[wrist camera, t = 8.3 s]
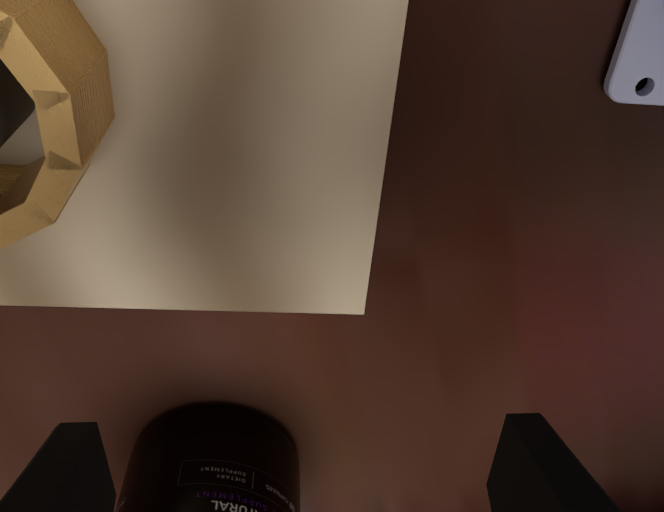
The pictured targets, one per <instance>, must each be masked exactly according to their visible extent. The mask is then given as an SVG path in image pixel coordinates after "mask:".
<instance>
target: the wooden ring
mask: <svg viewBox="0 0 664 512" xmlns="http://www.w3.org/2000/svg"><path fill="white" fill-rule="evenodd" d="M107 53H108V52H107V49H106V48H105V47H104V46H103V44H102V43H101V41H100V40H99V38H98V37H97V35H96V34H95V32H94V31H93V30H92V28H91V27H90V25H89V24H88V22H87V21H86V19H85V18H84V16H83V15H82V13H81V12H80V11H79V9H78V8H77V6H76V5H75V3H74V2H73V0H0V59H1V60H2V61H3V62H4V64H5V65H6V66H7V68H8V69H9V70H10V71H11V73H12V74H13V75H14V76H15V78H16V79H17V80H18V81H19V83H20V84H21V85H22V87H23V88H24V89H25V90H26V92H27V93H28V94H29V95H30V97H31V98H32V99H33V100H34V102H35V107H36V112H37V118H38V123H39V128H40V133H41V138H42V143H43V148H44V154H45V156H44V157H42V158H40V159H38V160H36V161H34V162H32V163H30V164H28V165H15V164H0V249H2V248H4V247H6V246H8V245H11V244H13V243H15V242H17V241H19V240H21V239H23V238H25V237H27V236H29V235H31V234H33V233H35V232H37V231H39V230H41V229H44V228H46V227H48V226H50V225H53V224H54V223H55V222H56V220H57V219H58V217H59V216H60V214H61V212H62V211H63V209H64V207H65V206H66V204H67V202H68V201H69V199H70V197H71V196H72V194H73V192H74V191H75V189H76V187H77V186H78V184H79V182H80V181H81V179H82V177H83V176H84V174H85V172H86V171H87V169H88V167H89V166H90V164H91V163H90V162H91V160H92V158H93V156H94V154H95V152H96V150H97V148H98V147H99V145H100V143H101V141H102V139H103V137H104V135H105V133H106V131H107V129H108V128H109V126H110V124H111V123H112V121H113V119H114V118H115V113H114V106H113V98H112V89H111V81H110V73H109V64H108V56H107Z"/></svg>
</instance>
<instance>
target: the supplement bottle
mask: <svg viewBox="0 0 664 512" xmlns="http://www.w3.org/2000/svg"><path fill="white" fill-rule="evenodd" d="M115 512H300V469H299V461H298V456H297V453H296V451H295V448H294V446H293V445H292V443H291V441H290V440H289V439H288V438H287V436H286V435H285V434H284V433H283V432H282V431H281V430H280V429H279V428H277V427H276V426H275V425H274V424H272V423H271V422H269V421H267V420H266V419H264V418H262V417H260V416H257V415H255V414H252V413H250V412H247V411H243V410H239V409H234V408H228V407H198V408H192V409H187V410H183V411H180V412H177V413H174V414H171V415H169V416H167V417H165V418H163V419H161V420H160V421H158V422H156V423H155V424H154V425H152V426H151V427H150V428H149V429H148V430H147V431H146V432H145V433H144V434H143V435H142V436H141V437H140V439H139V440H138V442H137V443H136V445H135V447H134V449H133V452H132V454H131V457H130V461H129V464H128V468H127V471H126V474H125V478H124V481H123V485H122V489H121V492H120V496H119V499H118V503H117V507H116V510H115Z"/></svg>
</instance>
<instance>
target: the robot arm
mask: <svg viewBox="0 0 664 512" xmlns="http://www.w3.org/2000/svg"><path fill="white" fill-rule="evenodd" d="M647 77H648V80H647V84H646V85H645V87H644V88H643V89H641V90H640V91H635V86H636V85H637V83H638V82H639V81H640V80H642V79H643V78H647ZM604 91H605V94H607V95H608V96H609V97H610V98H611V99H612V100H613V101H615V102H619V103H629V104H645V105H662V106H664V0H631V2H630V5H629V8H628V11H627V14H626V17H625V20H624V23H623V26H622V29H621V32H620V35H619V38H618V41H617V44H616V47H615V50H614V53H613V56H612V60H611V63H610V66H609V69H608V72H607V75H606V78H605V81H604ZM486 485H487V490H488V495H489V500H490V505H491V510H492V512H622V511H621V510H620V509H619V507H618V506H617V505H616V504H615V503H614V502H613V501H612V499H611V498H610V497H609V496H608V495H607V494H606V492H605V491H604V490H603V489H602V488H601V487H600V485H599V484H598V483H597V482H596V481H595V479H594V478H593V477H592V476H591V475H590V473H589V472H588V471H587V470H586V469H585V467H584V466H583V465H582V464H581V463H580V461H579V460H578V459H577V458H576V456H575V455H574V454H573V453H572V452H571V450H570V449H569V448H568V447H567V445H566V444H565V443H564V442H563V440H562V439H561V438H560V437H559V435H558V434H557V433H556V432H555V431H554V429H553V428H552V427H551V426H550V424H549V423H548V422H547V421H546V419H545V418H544V417H543V416H542V415H541V414H540V413H522V414H506V418H505V421H504V425H503V428H502V432H501V435H500V439H499V442H498V446H497V449H496V453H495V456H494V460H493V463H492V467H491V470H490V474H489V477H488V481H487V484H486ZM115 499H116V492H115V489H114V485H113V481H112V477H111V473H110V470H109V466H108V462H107V458H106V455H105V451H104V447H103V443H102V439H101V436H100V432H99V428H98V424H97V422H78V423H60V424H59V425H58V426H57V427H55V429H54V430H53V431H52V433H51V434H50V435H49V437H48V438H47V440H46V441H45V442H44V444H43V445H42V446H41V448H40V449H39V450H38V452H37V453H36V454H35V456H34V457H33V459H32V460H31V461H30V463H29V464H28V465H27V467H26V468H25V469H24V471H23V472H22V473H21V474H20V476H19V477H18V478H17V480H16V481H15V482H14V484H13V485H12V486H11V487H10V489H9V490H8V491H7V493H6V494H5V495H4V497H3V498H2V499H1V500H0V512H113V511H114V505H115Z"/></svg>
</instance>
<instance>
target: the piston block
mask: <svg viewBox="0 0 664 512" xmlns="http://www.w3.org/2000/svg"><path fill="white" fill-rule="evenodd" d="M408 1H409V0H73V2H74V3H75V5H76V6H77V8H78V9H79V11H80V12H81V13H82V15H83V16H84V18H85V19H86V21H87V22H88V24H89V25H90V27H91V28H92V30H93V31H94V32H95V34H96V35H97V37H98V38H99V40H100V41H101V43H102V44H103V46H104V47H105V48H106V49H107V52H108V53H107V56H108V64H109V73H110V81H111V89H112V98H113V106H114V113H115V118H114V119H113V121H112V123H111V124H110V126H109V128H108V129H107V131H106V133H105V135H104V137H103V139H102V141H101V143H100V145H99V147H98V148H97V150H96V152H95V154H94V156H93V158H92V160H91V162H90V163H91V164H90V166H89V167H88V169H87V171H86V172H85V174H84V176H83V177H82V179H81V181H80V182H79V184H78V186H77V187H76V189H75V191H74V192H73V194H72V196H71V197H70V199H69V201H68V202H67V204H66V206H65V207H64V209H63V211H62V212H61V214H60V216H59V217H58V219H57V220H56V222H55V223H54V224H53V225H50V226H48V227H46V228H44V229H41V230H39V231H37V232H35V233H33V234H31V235H29V236H27V237H25V238H23V239H21V240H19V241H17V242H15V243H13V244H11V245H8V246H6V247H4V248H2V249H0V305H13V306H52V307H92V308H131V309H170V310H210V311H249V312H288V313H328V314H364V310H365V303H366V296H367V289H368V282H369V275H370V268H371V261H372V254H373V247H374V240H375V233H376V225H377V218H378V211H379V204H380V197H381V190H382V183H383V176H384V169H385V162H386V155H387V148H388V141H389V134H390V127H391V120H392V113H393V106H394V99H395V92H396V85H397V78H398V71H399V64H400V57H401V50H402V43H403V36H404V29H405V22H406V15H407V8H408ZM44 156H45V154H44V148H43V143H42V138H41V133H40V128H39V123H38V118H37V112H36V107H35V102H34V100H33V99H32V98H31V97H30V95H29V94H28V93H27V92H26V90H25V89H24V88H23V87H22V85H21V84H20V83H19V81H18V80H17V79H16V78H15V76H14V75H13V74H12V73H11V71H10V70H9V69H8V68H7V66H6V65H5V64H4V62H3V61H2V60H1V59H0V164H15V165H28V164H30V163H32V162H34V161H36V160H38V159H40V158H42V157H44Z"/></svg>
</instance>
